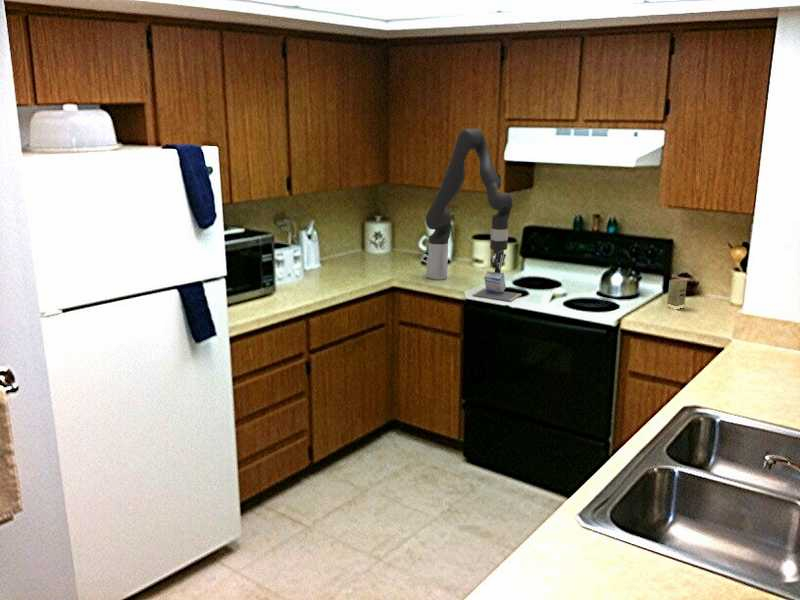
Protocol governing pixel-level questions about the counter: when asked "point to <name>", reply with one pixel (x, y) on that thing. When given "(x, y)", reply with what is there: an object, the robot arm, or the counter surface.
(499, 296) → the mat
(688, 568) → the counter surface
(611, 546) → the counter surface
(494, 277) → the medicine box
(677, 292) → the shoe polish box
